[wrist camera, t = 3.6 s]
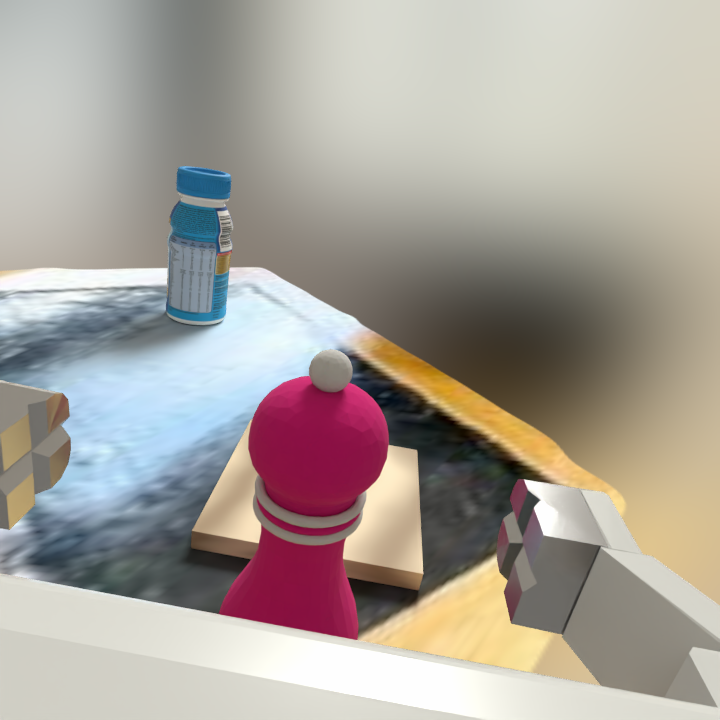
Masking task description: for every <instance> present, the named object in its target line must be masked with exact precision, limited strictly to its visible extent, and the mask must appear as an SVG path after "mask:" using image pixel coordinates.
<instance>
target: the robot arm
mask: <svg viewBox="0 0 720 720" xmlns="http://www.w3.org/2000/svg"><path fill="white" fill-rule="evenodd" d="M68 418H69V404H68V399H67V398H66V397H65V396H64V394H63V393H59V392H54V391H49V390H44V389H39V388H35V387H30V386H25V385H20V384H15V383H10V382H6V381H2V380H0V528H2V529H8V530H10V529H11V528H12V527H13V526H14V525H15V524H16V523H17V522H18V521H19V520H20V519H21V518H22V517H23V516H24V515H25V514H26V513H27V512H28V511H29V510H30V509H31V508H32V507H33V506H34V505H35V494H37V493H40V492H43V491H45V490H48V489H51V488H52V487H53V486H54V485H55V484H56V483H57V482H58V480H59V479H60V478H61V477H62V475H63V473H64V471H65V469H66V467H67V465H68V462H69V456H70V451H71V442H70V437H69V435H68V434H67V433H66V431H65V430H64V428H63V427H62V426H61V425H62V424H63V423H64V422H65V421H66V420H67V419H68ZM510 500H511V503H512V507H513V510H514V511H513V512H512V513H510V514H509V515H508V516H506V517H505V518H504V519H503V521H502V525H501V528H500V531H499V536H498V544H497V561H498V566H499V571H500V573H501V574H502V575H503V576H504V577H505V578H506V579H507V580H508V582H507V585H506V587H505V590H504V594H505V599H506V603H507V607H508V612H509V616H510V621H511V624H516V625H520V626H525V627H530V628H534V629H539V630H543V631H548V632H553V633H557V634H562V635H563V636H562V637H563V639H564V640H565V641H566V642H567V644H568V645H569V646H570V647H571V649H572V650H573V651H574V652H575V654H576V655H577V656H578V657H579V658H580V660H581V661H582V662H583V664H584V665H585V666H586V667H587V668H588V670H589V671H590V672H591V673H592V675H593V676H594V677H595V678H596V680H597V681H598V682H599V683H600V685H601V686H599V685H593V684H588V683H583V682H577V681H573V680H567V679H562V678H556V677H551V676H545V675H540V674H535V673H530V672H524V671H519V670H514V669H508V668H503V667H498V666H492V665H487V664H482V663H476V662H471V661H466V660H460V659H455V658H450V657H444V656H439V655H434V654H428V653H423V652H417V651H412V650H407V649H401V648H396V647H391V646H385V645H380V644H375V643H369V642H364V641H359V640H353V639H348V638H343V637H337V636H332V635H327V634H321V633H316V632H311V631H305V630H300V629H295V628H289V627H284V626H278V625H273V624H268V623H262V622H257V621H252V620H246V619H241V618H236V617H230V616H225V615H220V614H214V613H209V612H204V611H198V610H193V609H188V608H182V607H177V606H172V605H166V604H161V603H156V602H150V601H145V600H139V599H134V598H129V597H123V596H118V595H113V594H107V593H102V592H97V591H91V590H86V589H81V588H75V587H70V586H65V585H59V584H54V583H49V582H43V581H38V580H33V579H27V578H22V577H17V576H11V575H6V574H1V573H0V720H720V606H719V605H718V604H717V603H715V602H714V601H713V600H711V599H710V598H708V597H707V596H706V595H704V594H703V593H701V592H700V591H699V590H698V589H696V588H695V587H693V586H692V585H690V584H689V583H688V582H687V581H685V580H684V579H682V578H681V577H680V576H678V575H677V574H676V573H674V572H673V571H672V570H670V569H669V568H667V567H666V566H665V565H663V564H662V563H661V562H659V561H658V560H657V559H655V558H654V557H652V556H649V555H643V554H642V552H641V551H640V549H639V547H638V545H637V544H636V542H635V540H634V538H633V537H632V535H631V533H630V532H629V530H628V528H627V526H626V525H625V523H624V521H623V519H622V518H621V516H620V514H619V512H618V511H617V509H616V507H615V506H614V504H613V502H612V500H611V499H610V497H609V496H608V495H607V494H605V493H604V492H600V491H593V490H586V489H579V488H573V487H567V486H560V485H554V484H548V483H542V482H535V481H529V480H522V479H519V480H518V481H517V483H516V484H515V486H514V488H513V491H512V494H511V497H510Z"/></svg>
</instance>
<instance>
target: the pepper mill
mask: <svg viewBox="0 0 720 720" xmlns="http://www.w3.org/2000/svg"><path fill="white" fill-rule="evenodd" d="M309 375H310V376H304V377H299V378H295V379H292V380H290V381H287V382H284V383H282V384H281V385H279V386H278V387H276V388H275V389H273V390H272V391H271V392H270V393H269V394H268V395H267V396H266V397H265V398H264V399H263V401H262V402H261V403H260V404H259V406H258V408H257V410H256V412H255V414H254V417H253V419H252V422H251V426H250V432H249V437H248V450H249V454H250V457H251V461H252V465H253V467H254V468H255V470H256V472H257V473H258V476H257V477H256V481H255V494H254V497H253V510H254V513H255V516H256V518H257V519H258V521H259V522H260V523H261V535H260V540H259V545H258V549H257V551H256V553H255V555H254V557H253V558H252V560H251V561H250V562H249V563H248V565H247V566H246V567H245V568H244V570H243V571H242V572H241V573H240V575H239V576H238V577H237V578H236V580H235V581H234V583H233V584H232V586H231V587H230V589H229V591H228V593H227V595H226V597H225V599H224V601H223V603H222V606H221V608H220V611H219V614H220V615H225V616H230V617H236V618H241V619H246V620H252V621H257V622H262V623H268V624H273V625H278V626H284V627H289V628H295V629H300V630H305V631H311V632H316V633H321V634H327V635H332V636H337V637H343V638H348V639H353V640H357V638H358V619H357V612H356V604H355V600H354V597H353V593H352V590H351V587H350V584H349V581H348V578H347V575H346V571H345V567H344V564H343V552H344V543H345V540H346V538H347V537H348V536H349V535H351V534H352V533H353V532H354V531H355V530H356V529H357V528H358V526H359V525H360V523H361V520H362V516H363V508H364V505H365V502H366V496H367V495H366V490H367V489H368V488H369V487H370V486H372V485H373V484H374V483H375V482H376V481H377V479H378V478H379V476H380V474H381V472H382V469H383V467H384V465H385V462H386V460H387V453H388V445H389V436H388V429H387V424H386V421H385V417H384V415H383V413H382V411H381V409H380V407H379V406H378V405H377V403H376V402H375V401H374V399H373V398H371V397H370V396H369V395H368V394H367V393H366V392H365V391H363V390H362V389H360V388H359V387H357V386H355V385H353V384H351V383H349V382H350V380H351V377H352V365H351V362H350V360H349V359H348V357H347V356H346V355H345V354H343V353H342V352H340V351H337V350H331V349H330V350H325V351H322V352H320V353H318V354H317V355H316V356H315V357H314V358H313V360H312V361H311V364H310V367H309Z"/></svg>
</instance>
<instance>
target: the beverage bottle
mask: <svg viewBox="0 0 720 720" xmlns="http://www.w3.org/2000/svg"><path fill="white" fill-rule="evenodd" d="M230 189H231V176H230V175H229V174H228V173H225V172H221V171H217V170H212V169H207V168H199V167H188V166H186V167H185V166H183V167H179V168H178V172H177V193H178V194H179V195H181V196H182V197H181V199H180V200H179V202H178V203H177V204H176V206H175V207H174V209H173V210H172V213H171V215H170V219H169V223H170V225H171V227H172V230H171V232H170V234H169V235H168V240H167V244H168V278H167V303H166V313H167V315H168V316H169V317H170V318H172V319H173V320H175V321H178V322H181V323H185V324H191V325H211V324H216V323H219V322H221V321H222V320H223V319H224V318H225V316H226V301H227V289H228V278H229V267H230V256H231V253H232V241H231V239H230V233H231V232H232V230H233V224H232V219H231V217H230V214H229V212H228V210H227V208H226V206H225V204H224V201H228V200H229V197H230Z"/></svg>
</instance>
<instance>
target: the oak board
mask: <svg viewBox="0 0 720 720" xmlns="http://www.w3.org/2000/svg"><path fill="white" fill-rule="evenodd" d="M251 422H252V420H251V421H250V422H249V424H248V426H247V428H246V430H245V432H244V434H243V436H242V438H241V439H240V441H239V443H238V445H237V447H236V449H235V451H234V453H233V455H232V456H231V458H230V460H229V462H228V464H227V466H226V468H225V470H224V471H223V473H222V475H221V477H220V479H219V481H218V483H217V485H216V487H215V488H214V490H213V492H212V494H211V496H210V498H209V500H208V502H207V504H206V505H205V507H204V509H203V511H202V513H201V515H200V517H199V519H198V520H197V522H196V524H195V526H194V528H193V530H192V538H191V548H193V549H199V550H204V551H210V552H215V553H220V554H226V555H231V556H236V557H242V558H247V559H252V558H253V557H254V555H255V553H256V551H257V549H258V545H259V540H260V535H261V523H260V522H259V521H258V519H257V518H256V516H255V513H254V510H253V497H254V494H255V481H256V477H257V476H258V473H257V472H256V470H255V468H254V467H253V465H252V461H251V457H250V454H249V450H248V437H249V432H250V426H251ZM366 495H367V496H366V502H365V505H364V508H363V516H362V520H361V523H360V525H359V526H358V528H357V529H356V530H355V531H354V532H353V533H352V534H351V535H349V536H348V537H347V538H346V540H345V543H344V552H343V564H344V567H345V571H346V575H347V577H349V578H354V579H360V580H365V581H371V582H376V583H381V584H387V585H392V586H397V587H403V588H408V589H413V590H419V587H420V584H421V580H422V576H423V560H422V539H421V519H420V499H419V479H418V459H417V450H412V449H407V448H402V447H396V446H391V445H388V453H387V460H386V462H385V465H384V467H383V469H382V472H381V474H380V476H379V478H378V479H377V481H376V482H375V483H374V484H373V485H372V486H370V487H369V488H368V489H367V490H366Z"/></svg>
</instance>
